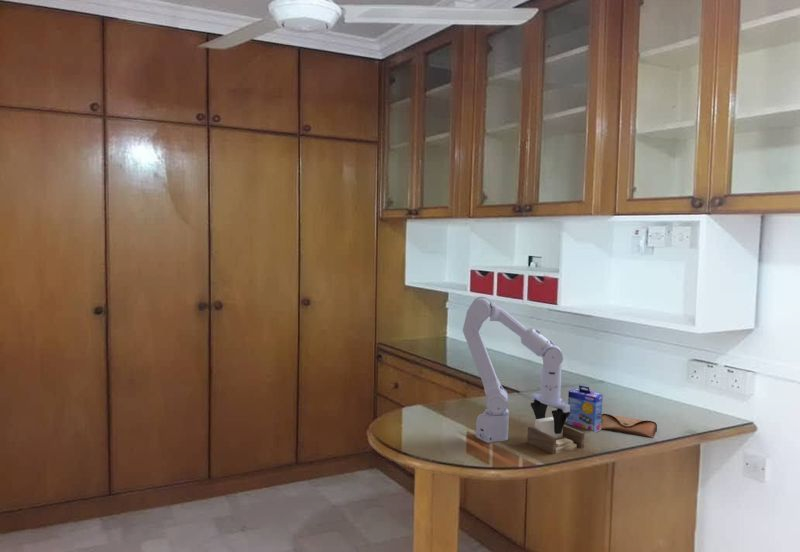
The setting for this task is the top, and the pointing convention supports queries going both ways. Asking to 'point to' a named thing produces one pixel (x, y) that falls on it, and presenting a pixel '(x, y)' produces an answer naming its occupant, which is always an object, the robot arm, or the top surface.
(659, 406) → the top surface
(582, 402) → the ink cartridge box
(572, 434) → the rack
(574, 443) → the offcut lower
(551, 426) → the board
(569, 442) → the offcut upper
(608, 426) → the sunglasses case
